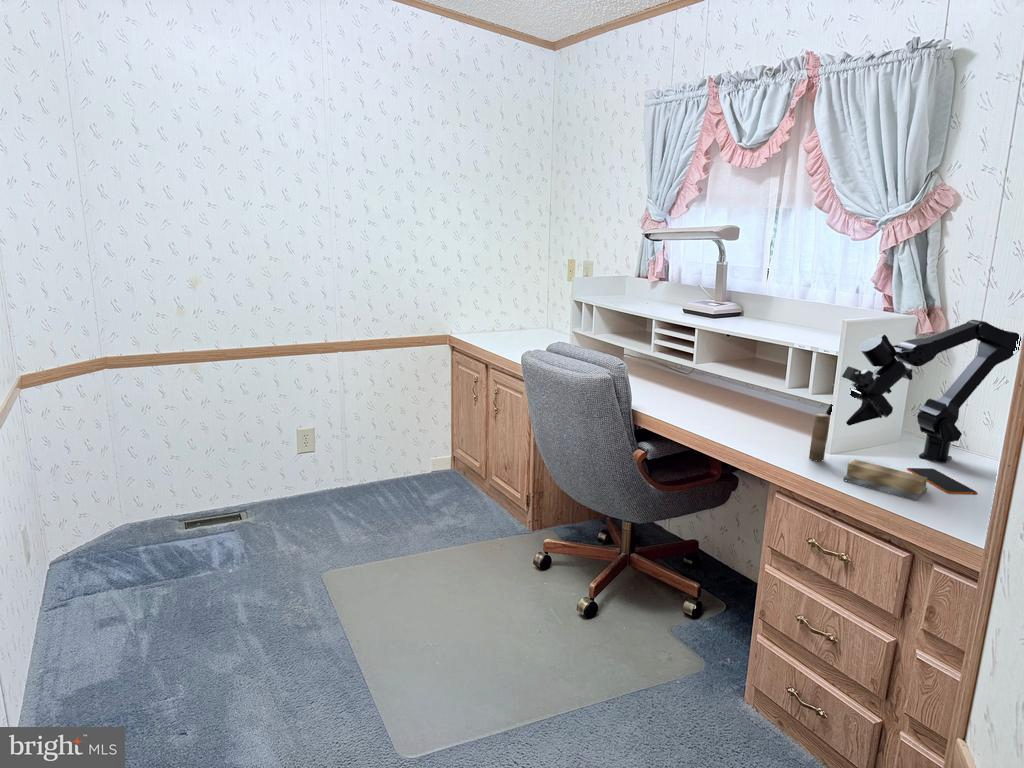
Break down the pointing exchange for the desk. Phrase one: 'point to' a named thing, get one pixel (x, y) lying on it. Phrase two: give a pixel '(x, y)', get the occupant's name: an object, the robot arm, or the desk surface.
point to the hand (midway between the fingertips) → (837, 419)
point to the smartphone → (942, 481)
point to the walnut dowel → (819, 437)
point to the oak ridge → (886, 479)
